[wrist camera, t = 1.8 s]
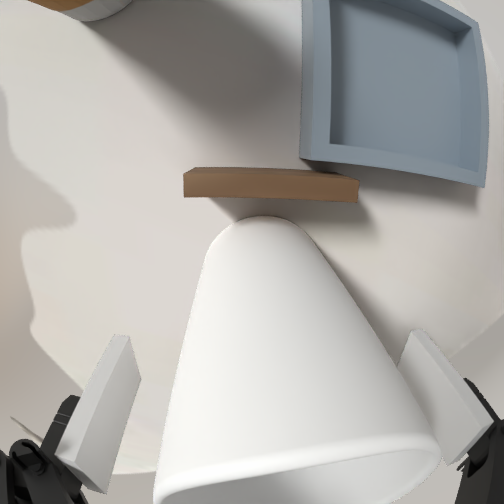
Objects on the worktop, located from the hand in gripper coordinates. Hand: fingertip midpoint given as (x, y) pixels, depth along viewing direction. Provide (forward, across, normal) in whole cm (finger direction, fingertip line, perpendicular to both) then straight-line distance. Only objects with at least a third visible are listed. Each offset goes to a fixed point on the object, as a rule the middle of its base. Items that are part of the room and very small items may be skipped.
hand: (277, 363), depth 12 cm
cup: (+9, 0, 0) cm, 9 cm away
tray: (+9, +9, +15) cm, 20 cm away
